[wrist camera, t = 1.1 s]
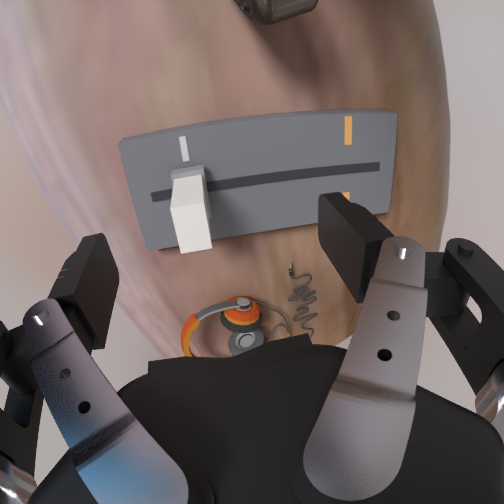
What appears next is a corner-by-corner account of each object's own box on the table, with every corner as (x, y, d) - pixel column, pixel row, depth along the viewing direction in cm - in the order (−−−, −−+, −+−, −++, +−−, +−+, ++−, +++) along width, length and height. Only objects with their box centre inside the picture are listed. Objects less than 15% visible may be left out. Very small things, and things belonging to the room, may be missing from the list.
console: (122, 138, 27) (118, 144, 26) (387, 110, 30) (397, 113, 28) (149, 241, 34) (147, 251, 33) (380, 204, 37) (389, 212, 35)
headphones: (325, 347, 47) (205, 399, 42) (308, 326, 51) (194, 372, 46) (330, 262, 37) (168, 323, 32) (307, 242, 41) (159, 294, 36)
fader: (171, 170, 28) (165, 203, 22) (203, 164, 28) (206, 195, 22) (181, 217, 31) (179, 259, 25) (211, 212, 31) (216, 253, 25)
